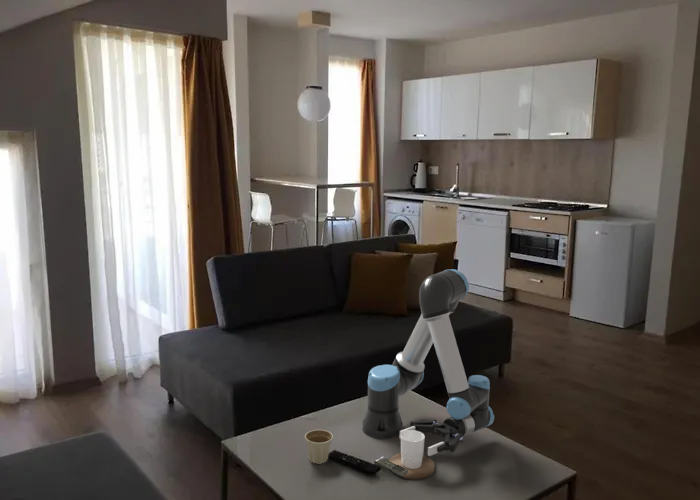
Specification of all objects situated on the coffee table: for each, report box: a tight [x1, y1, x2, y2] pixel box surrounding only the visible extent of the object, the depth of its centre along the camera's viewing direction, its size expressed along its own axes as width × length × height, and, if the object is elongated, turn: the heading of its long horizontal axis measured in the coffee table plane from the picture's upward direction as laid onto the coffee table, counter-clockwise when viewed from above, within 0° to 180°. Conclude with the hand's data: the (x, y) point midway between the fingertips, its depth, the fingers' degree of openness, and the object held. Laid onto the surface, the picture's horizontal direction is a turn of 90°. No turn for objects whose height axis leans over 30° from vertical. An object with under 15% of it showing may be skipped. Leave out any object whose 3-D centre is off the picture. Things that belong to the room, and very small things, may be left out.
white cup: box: [400, 430, 426, 469], centre depth 198 cm, size 8×8×10 cm
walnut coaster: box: [388, 452, 435, 480], centre depth 199 cm, size 15×15×1 cm
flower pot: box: [304, 429, 334, 465], centre depth 202 cm, size 9×9×9 cm
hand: (414, 443), depth 198 cm, fingers open, 13 cm apart
